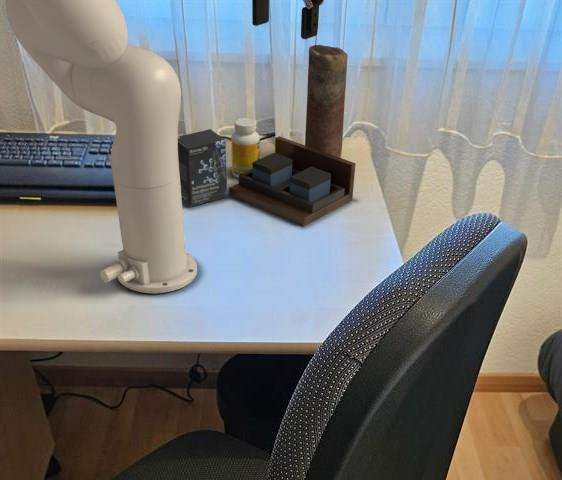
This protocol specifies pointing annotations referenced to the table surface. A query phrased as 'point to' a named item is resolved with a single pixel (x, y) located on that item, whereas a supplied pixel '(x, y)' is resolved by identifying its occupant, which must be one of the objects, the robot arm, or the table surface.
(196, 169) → the box
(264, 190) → the brown wooden organizer
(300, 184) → the blue lidded block
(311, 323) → the table surface
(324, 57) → the candle
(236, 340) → the table surface
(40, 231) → the table surface
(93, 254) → the table surface
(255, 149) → the supplement bottle
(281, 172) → the dark grey block
